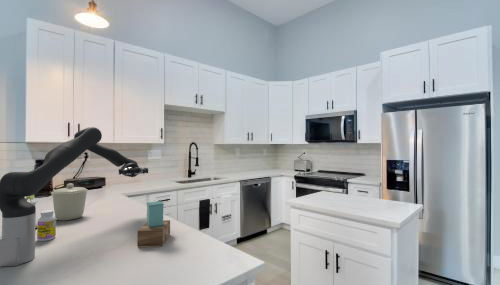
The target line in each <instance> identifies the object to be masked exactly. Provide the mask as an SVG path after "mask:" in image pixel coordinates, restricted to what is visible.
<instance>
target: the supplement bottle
mask: <svg viewBox="0 0 500 285" xmlns="http://www.w3.org/2000/svg"><path fill="white" fill-rule="evenodd" d="M38 218H39V219H38V225H37V232H36V234H37V235H36V240H37V241H38V242H46V241H50V240H53V239H54V238H56V231H57V230H56V228H57V219H56V217H55V212H54V209H48V210H46V209H45V210H42V211H40V217H38Z"/></svg>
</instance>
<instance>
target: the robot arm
mask: <svg viewBox="0 0 500 285" xmlns="http://www.w3.org/2000/svg"><path fill="white" fill-rule="evenodd" d="M102 138H103V135H102V131H101V130H100V129H99V128H98V127H95V126H91V127H85V128H84V129H80V130H78V131H77V132H75V133H74V136H73V138H72V139H70V140H68V141H66V142H63V143H61V144H59V145H57V146H56V147H54V148H52V149H51V150H50V151H49V152H47V153H46V154H45V156H44V158H43V159H44V160H43V163H42V164H41V165H39V166H38V167H37V168H35V169H33V170H31V171H10V172H8V173H7V172H6V173H5V174H4V175H3V176H2V177H1V178H0V212H1V217H2V218H1V239H0V267H16V266H19V265H21V264H22V265H23V264H25V263H28V262H30V261H33V260H34V259H35V258H36V256H35V255H36V228H35V220H36V217H37V216H36V215H37V212H36V211H37V210H36V209H37V206H36V204H35V205H33V204H31V203H29V200H27V201H26V199H25V198H26V197H29V196H32V195H34V196H35V195H36V194H37V193H39V192H40V191H42V189H43V188H44V187H45V186H46V185H47V184H48V183H49V182H50V181H51V180H52V179H53V178H54V177H55V176H56V175H58V174H59V173H61V171H63V170H64V169H65V168H66V167H68V166H69V165H71V164H72V163H73V162H74V161H75V160H76V159H78V158H79V157H80V156H81V155H83V154H84V153H85V152H86V151H89V152H92V153H93V154H96V155H97V156H100V157H102V158H103V159H105V160H107V161H108V162H110V163H111V164H112V165H114V166H116V167H118V175H123V176H124V177H129V178H135V177H137V176H138V175H142V174H143V175H144V174H149V168H148V167H139V165H138V162H137V161H136V160H134V159H131V158H128V157H126V156H124V155H123V154H121V153H120V152H119V151H117V150H115V149H113V148H110V147H106V146H104V145H101V144H99V142H100V141H101V140H102ZM119 167H120V168H119Z"/></svg>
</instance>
